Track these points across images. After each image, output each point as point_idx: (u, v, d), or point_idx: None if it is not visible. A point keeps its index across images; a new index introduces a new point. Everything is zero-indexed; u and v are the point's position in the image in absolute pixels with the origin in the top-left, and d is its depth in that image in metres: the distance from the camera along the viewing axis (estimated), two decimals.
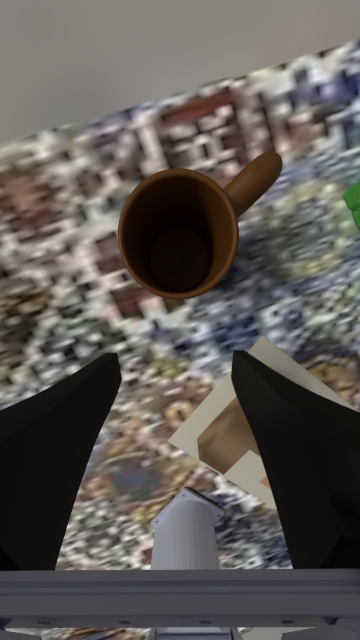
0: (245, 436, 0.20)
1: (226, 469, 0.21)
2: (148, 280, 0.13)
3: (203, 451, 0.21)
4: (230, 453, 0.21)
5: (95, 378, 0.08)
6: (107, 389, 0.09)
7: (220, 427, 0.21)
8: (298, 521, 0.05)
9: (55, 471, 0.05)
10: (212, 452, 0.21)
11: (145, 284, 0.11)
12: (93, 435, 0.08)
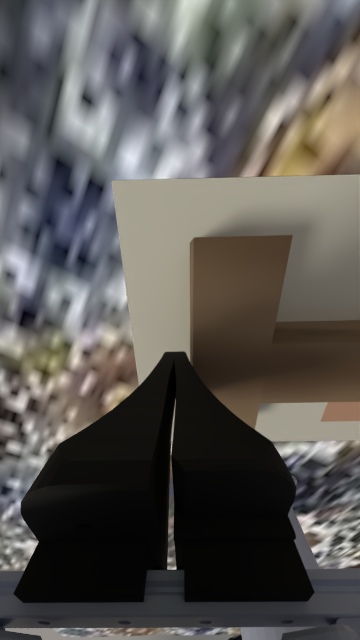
0: (232, 389, 0.10)
1: None
2: None
3: None
4: None
5: (171, 377, 0.08)
6: (174, 388, 0.09)
7: None
8: None
9: (165, 470, 0.05)
10: None
11: None
12: (170, 433, 0.08)
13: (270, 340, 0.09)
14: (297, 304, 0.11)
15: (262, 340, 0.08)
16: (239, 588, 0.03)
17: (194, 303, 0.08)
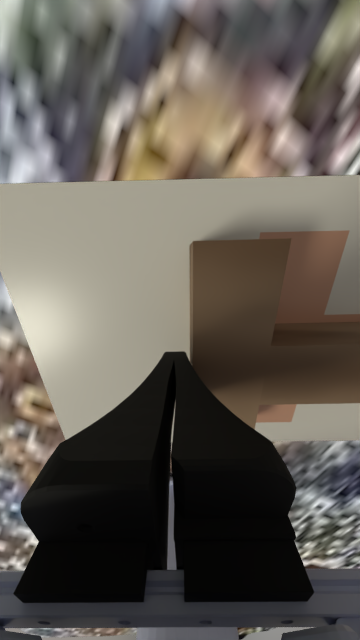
0: (232, 390, 0.10)
1: None
2: None
3: None
4: None
5: (171, 377, 0.08)
6: (174, 388, 0.09)
7: None
8: None
9: (165, 470, 0.05)
10: None
11: None
12: (170, 433, 0.08)
13: (269, 342, 0.09)
14: (182, 307, 0.11)
15: (261, 342, 0.08)
16: (239, 588, 0.03)
17: (194, 305, 0.08)
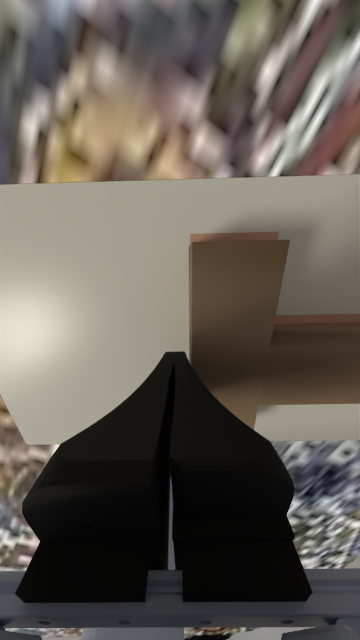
0: (231, 391, 0.10)
1: None
2: None
3: None
4: None
5: (171, 377, 0.08)
6: (174, 388, 0.09)
7: None
8: None
9: (166, 469, 0.05)
10: None
11: None
12: (171, 433, 0.08)
13: (268, 343, 0.09)
14: (123, 308, 0.11)
15: (260, 342, 0.09)
16: (237, 588, 0.03)
17: (193, 306, 0.08)
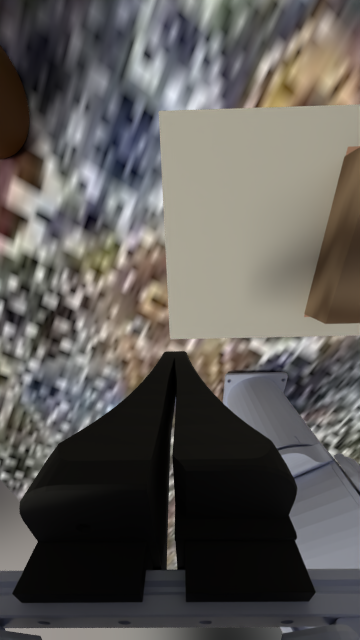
0: None
1: None
2: None
3: (325, 312, 0.16)
4: None
5: (170, 377, 0.08)
6: (173, 388, 0.09)
7: (329, 274, 0.16)
8: None
9: (165, 469, 0.05)
10: (337, 305, 0.16)
11: None
12: (170, 433, 0.08)
13: None
14: (283, 208, 0.15)
15: None
16: (240, 588, 0.03)
17: None
